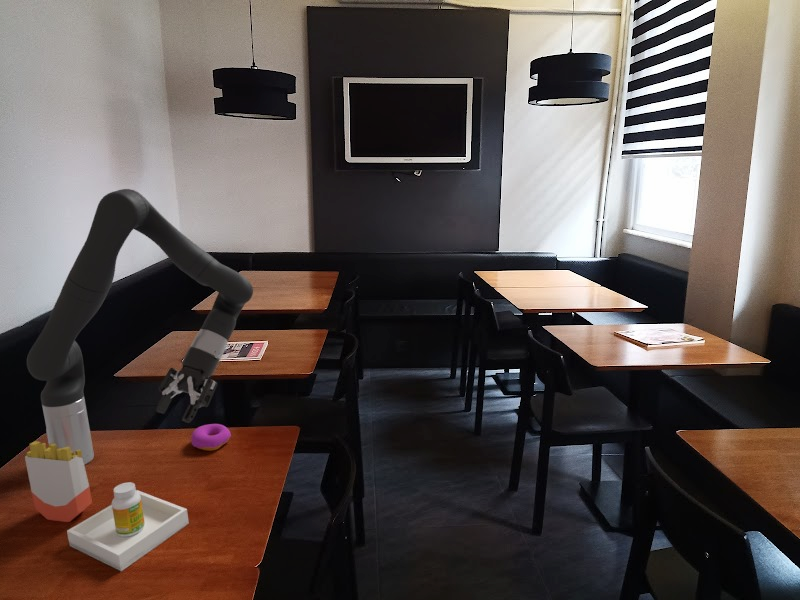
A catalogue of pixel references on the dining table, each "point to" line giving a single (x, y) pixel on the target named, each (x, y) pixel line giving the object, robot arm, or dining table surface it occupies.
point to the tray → (123, 551)
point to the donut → (210, 436)
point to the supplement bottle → (127, 510)
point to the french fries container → (57, 481)
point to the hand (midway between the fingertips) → (172, 417)
